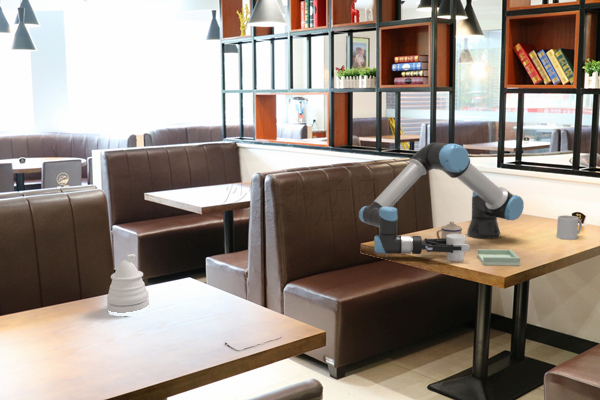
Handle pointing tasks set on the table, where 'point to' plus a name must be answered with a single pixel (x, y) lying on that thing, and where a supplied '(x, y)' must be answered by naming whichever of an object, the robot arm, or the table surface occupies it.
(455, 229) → the teacup with lid
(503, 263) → the green tray
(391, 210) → the robot arm
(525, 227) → the table surface
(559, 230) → the mug
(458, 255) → the white cup
